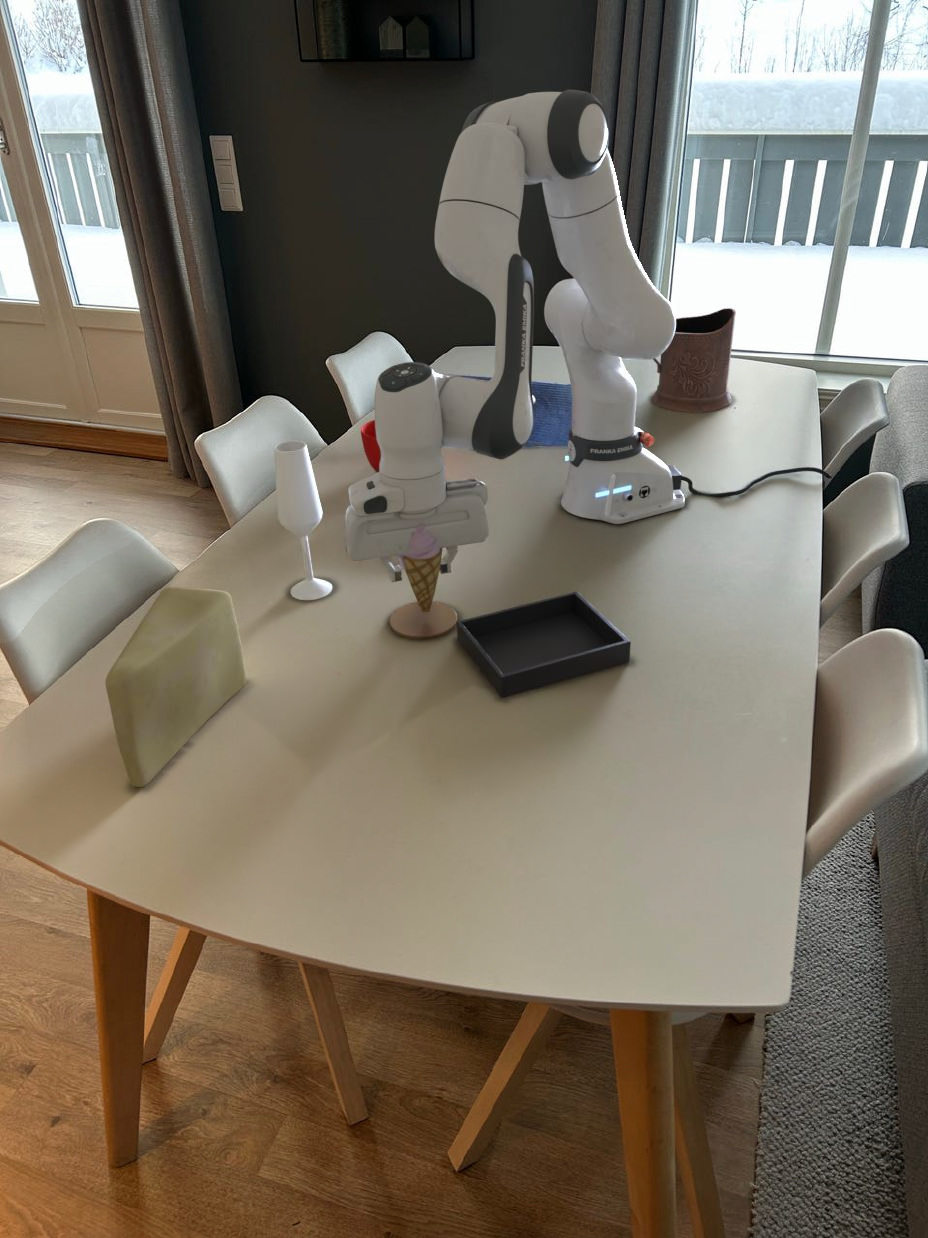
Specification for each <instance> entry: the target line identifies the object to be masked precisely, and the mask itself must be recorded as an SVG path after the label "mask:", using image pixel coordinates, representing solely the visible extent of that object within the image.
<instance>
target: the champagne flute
mask: <svg viewBox="0 0 928 1238" xmlns="http://www.w3.org/2000/svg"><path fill="white" fill-rule="evenodd" d="M307 445H308V444H307V443H306V442H305V441H302V440H284V441H282V442H278V443H277V444H275V445H274V446H273V458H274V460H273V461H274V473H275V474H274V475H275V478H274V479H275V490H276V494H275V495H276V510H277V520H278V521H279V523H280V525H282V527H283V528H285V529H286V530H287V531H288V532H290V533H292V534H293V535H295V536H298V537H299V542H300V549H301V553H302V554H301V555H302V560H303V561H302V562H303V568H304V574H305V579H304V580H302V581H300V582H298V583H296V584H294V585H293V586H292V587H291V589H290V595H291V596H292V597H293V598H294V599H296V600H300V601H314V600H318V599H321V598H324V597H326V596H328V595H330V594H331V592H332V591H333V585H332V583H331V582H329V581H327V580H324V579H320V578H316V577H314V572H313V565H312V558H311V551H310V544H309V538H308V537H309V536H308V535H310V534H311V533H313V531H314V530H315V529H316V528H317V527H318V525H319V524H320V522H321V520H322V518H323V508H322V504H321V501H320V496H319V492H318V488H317V484H316V479H315V475H314V470H313V467H312V462H311V458H310V454H309V450H308V446H307Z"/></svg>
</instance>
